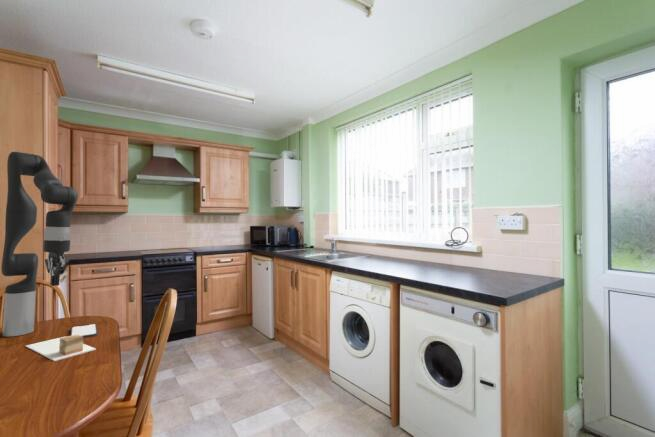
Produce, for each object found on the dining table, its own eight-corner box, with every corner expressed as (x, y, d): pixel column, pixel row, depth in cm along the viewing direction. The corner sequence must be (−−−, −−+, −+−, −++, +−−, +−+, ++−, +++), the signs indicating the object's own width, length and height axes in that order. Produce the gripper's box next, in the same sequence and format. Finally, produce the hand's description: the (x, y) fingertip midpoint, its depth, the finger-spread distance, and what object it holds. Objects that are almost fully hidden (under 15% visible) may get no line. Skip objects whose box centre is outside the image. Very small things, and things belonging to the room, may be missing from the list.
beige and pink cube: (66, 340, 107) (65, 355, 107) (83, 336, 111) (82, 350, 111) (59, 338, 109) (59, 352, 109) (76, 334, 114) (76, 348, 113)
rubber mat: (25, 346, 115) (25, 345, 115) (65, 337, 126) (65, 336, 126) (54, 361, 103) (54, 360, 103) (95, 349, 113) (95, 348, 113)
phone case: (97, 337, 128) (96, 327, 141) (97, 333, 128) (96, 323, 141) (69, 341, 123) (71, 330, 135) (69, 337, 123) (71, 326, 135)
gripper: (36, 238, 116) (34, 284, 116) (52, 240, 110) (49, 289, 109) (61, 237, 123) (59, 281, 122) (77, 239, 116) (75, 286, 116)
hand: (54, 285), depth 116 cm, fingers closed
